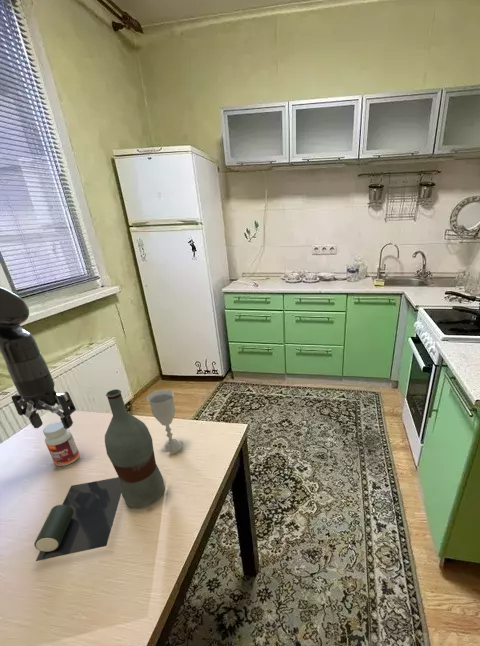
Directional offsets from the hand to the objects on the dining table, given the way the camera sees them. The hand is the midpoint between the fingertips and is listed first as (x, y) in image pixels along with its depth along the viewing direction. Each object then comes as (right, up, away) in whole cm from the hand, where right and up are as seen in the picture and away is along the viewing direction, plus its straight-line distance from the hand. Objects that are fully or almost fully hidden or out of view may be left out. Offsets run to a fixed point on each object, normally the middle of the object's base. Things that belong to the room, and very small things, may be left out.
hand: (54, 426), depth 87 cm
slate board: (+17, -19, -13) cm, 28 cm away
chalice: (+29, -8, +8) cm, 31 cm away
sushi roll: (+14, -20, -18) cm, 30 cm away
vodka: (+29, -16, -8) cm, 34 cm away
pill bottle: (0, -10, +5) cm, 12 cm away
